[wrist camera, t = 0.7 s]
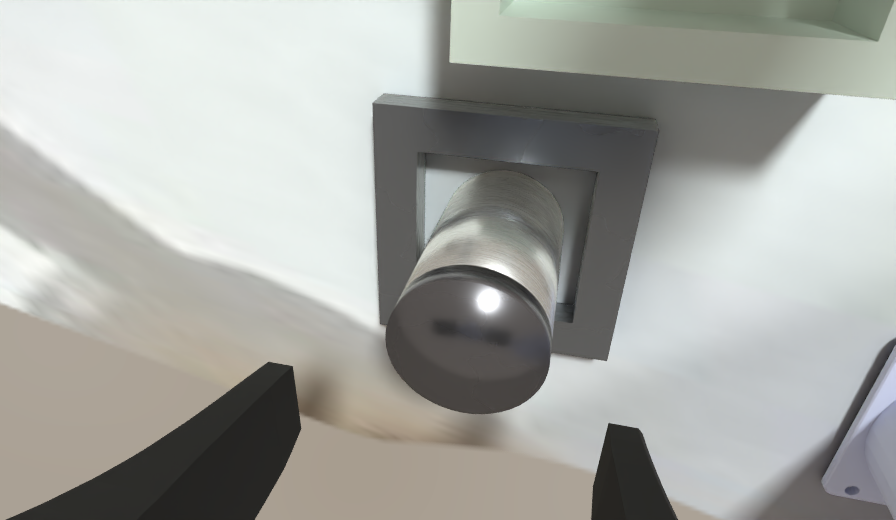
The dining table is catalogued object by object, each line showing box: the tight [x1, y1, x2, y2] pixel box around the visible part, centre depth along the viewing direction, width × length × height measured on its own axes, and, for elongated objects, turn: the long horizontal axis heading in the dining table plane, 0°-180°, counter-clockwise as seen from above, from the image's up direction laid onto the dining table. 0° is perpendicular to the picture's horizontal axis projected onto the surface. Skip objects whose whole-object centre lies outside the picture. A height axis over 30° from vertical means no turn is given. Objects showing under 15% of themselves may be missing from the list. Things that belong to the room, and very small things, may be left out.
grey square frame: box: [373, 94, 659, 361], centre depth 21 cm, size 9×9×1 cm
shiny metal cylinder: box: [386, 170, 564, 414], centre depth 18 cm, size 4×4×7 cm
